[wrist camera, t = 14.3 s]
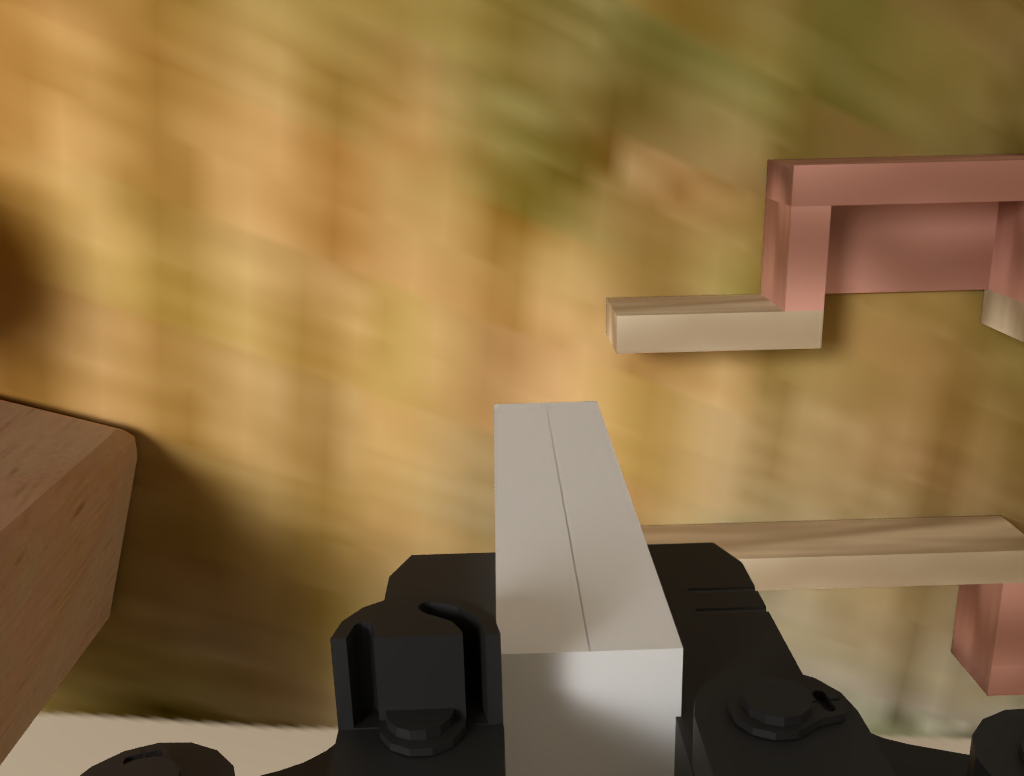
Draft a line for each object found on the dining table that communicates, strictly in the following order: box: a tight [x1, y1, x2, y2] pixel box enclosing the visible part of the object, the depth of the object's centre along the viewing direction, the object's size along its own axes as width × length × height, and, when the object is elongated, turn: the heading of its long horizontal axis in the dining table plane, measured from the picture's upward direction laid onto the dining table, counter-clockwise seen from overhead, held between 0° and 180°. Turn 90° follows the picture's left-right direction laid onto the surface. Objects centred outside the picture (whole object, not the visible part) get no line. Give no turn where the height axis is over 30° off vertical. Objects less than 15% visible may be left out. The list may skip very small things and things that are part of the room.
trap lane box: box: [606, 154, 1024, 696], centre depth 39 cm, size 23×34×6 cm
